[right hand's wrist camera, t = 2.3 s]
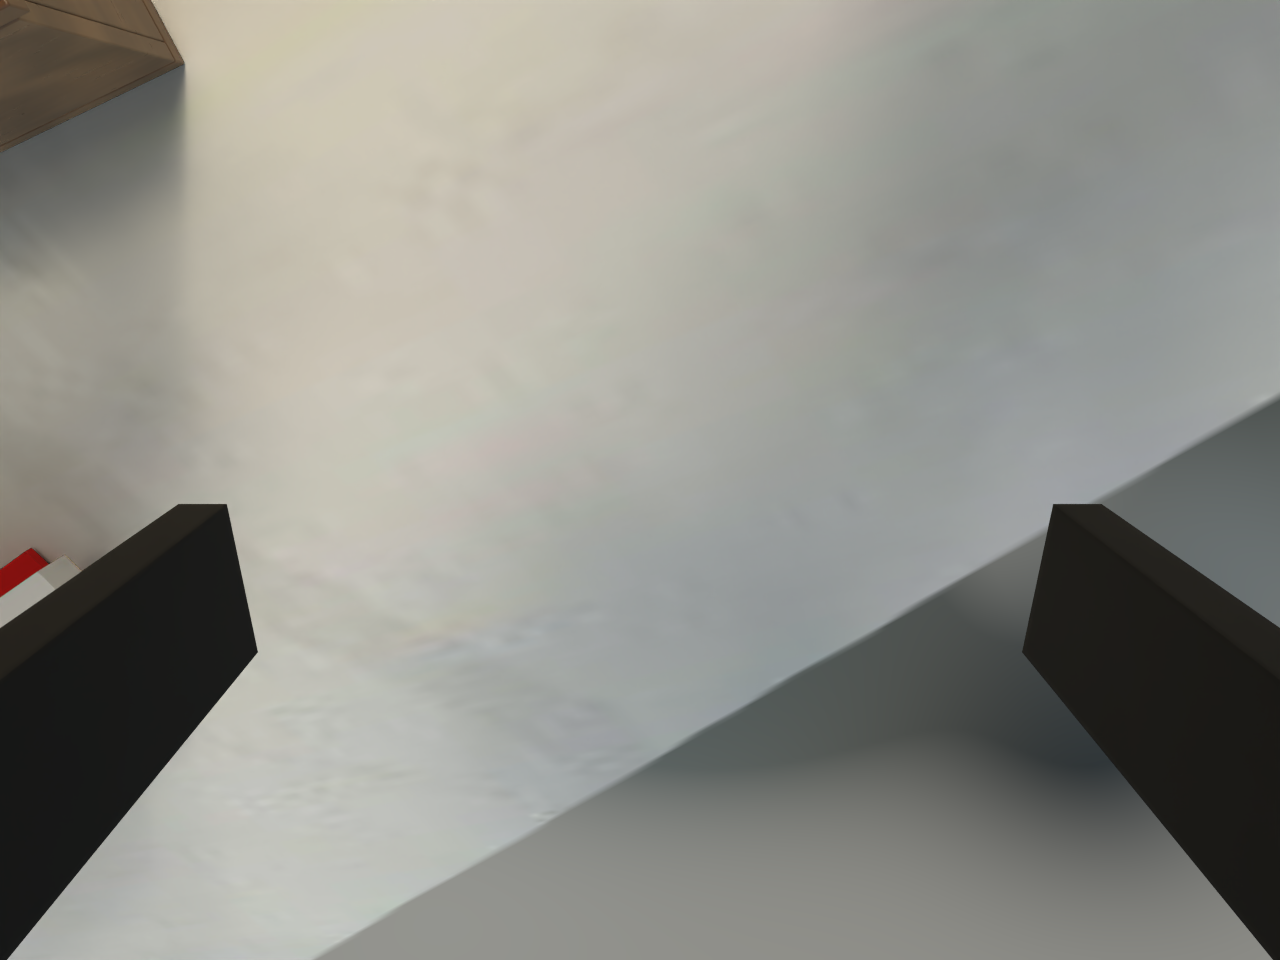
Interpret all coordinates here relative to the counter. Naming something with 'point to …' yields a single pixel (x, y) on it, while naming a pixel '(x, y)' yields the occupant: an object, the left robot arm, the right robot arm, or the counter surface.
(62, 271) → the counter surface
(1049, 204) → the counter surface
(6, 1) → the lid
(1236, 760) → the right robot arm
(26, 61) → the brown hollow box
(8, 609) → the toy
